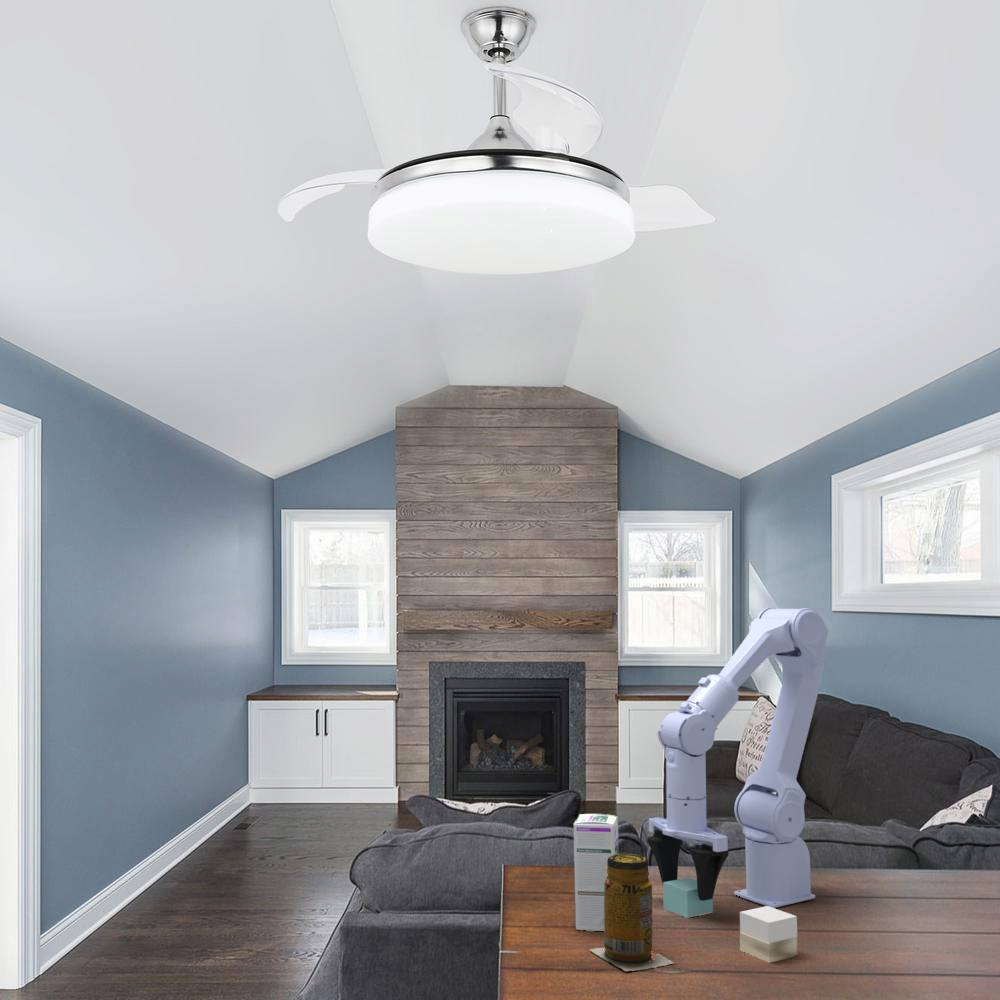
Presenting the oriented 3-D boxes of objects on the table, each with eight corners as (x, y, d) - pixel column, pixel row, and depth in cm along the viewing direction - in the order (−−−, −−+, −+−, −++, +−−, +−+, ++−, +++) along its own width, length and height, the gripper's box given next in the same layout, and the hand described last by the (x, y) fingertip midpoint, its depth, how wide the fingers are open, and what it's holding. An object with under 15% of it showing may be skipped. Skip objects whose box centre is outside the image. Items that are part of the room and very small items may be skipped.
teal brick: (688, 905, 145) (688, 877, 146) (713, 914, 141) (712, 885, 141) (663, 910, 142) (663, 882, 143) (687, 920, 138) (687, 890, 139)
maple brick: (767, 945, 128) (767, 926, 129) (797, 957, 124) (796, 937, 124) (740, 952, 126) (739, 932, 126) (769, 965, 122) (768, 944, 122)
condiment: (636, 943, 129) (635, 849, 130) (675, 964, 121) (673, 864, 122) (588, 951, 125) (588, 855, 127) (625, 974, 118) (624, 871, 119)
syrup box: (617, 933, 132) (616, 823, 134) (573, 930, 133) (573, 821, 135) (620, 920, 138) (619, 814, 139) (578, 917, 139) (578, 812, 140)
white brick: (768, 925, 129) (767, 905, 129) (797, 936, 125) (796, 916, 125) (740, 931, 126) (739, 911, 127) (768, 943, 122) (768, 922, 122)
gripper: (633, 790, 147) (633, 884, 146) (701, 808, 135) (702, 910, 134) (668, 786, 151) (669, 877, 150) (737, 802, 139) (739, 902, 137)
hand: (687, 892), depth 142 cm, fingers open, 7 cm apart
